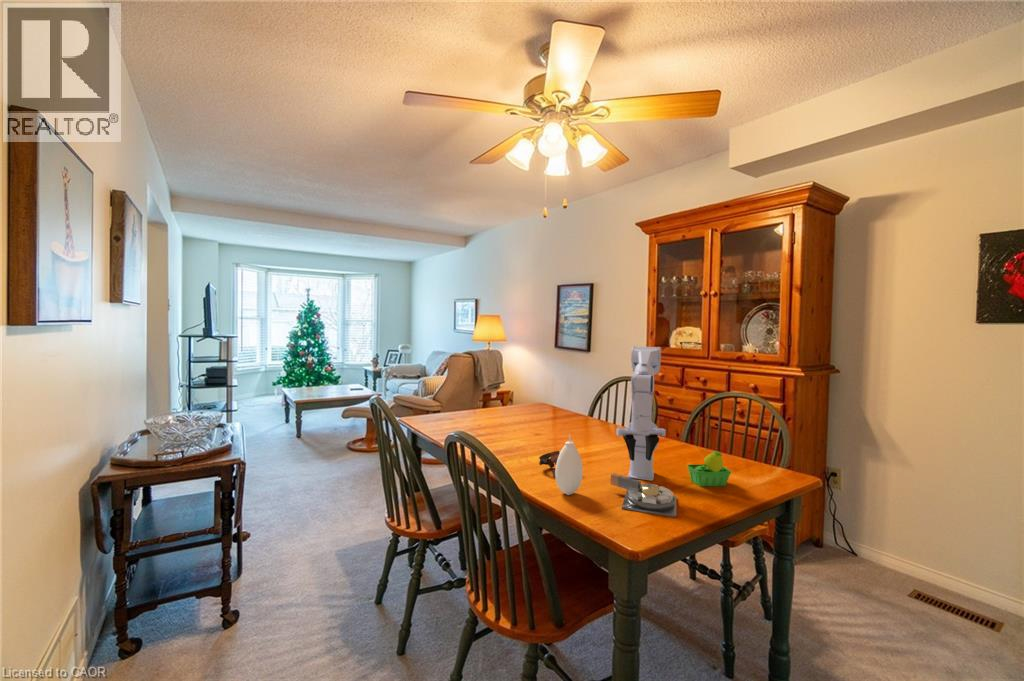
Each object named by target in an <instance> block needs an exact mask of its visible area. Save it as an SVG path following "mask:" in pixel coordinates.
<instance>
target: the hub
mask: <svg viewBox="0 0 1024 681" xmlns="http://www.w3.org/2000/svg"><path fill="white" fill-rule="evenodd" d="M650 484H651V483H646V484H645V483H644V484H643V485H642V491H641V493H643V494H645V495H651V496H657V495H660V494H659V487H660V486H659V485H658V486H655V485H656V484H654V485H650ZM621 509H622V510H627V511H632V512H639V513H644V514H652V515H658V516H665V517H670V518H677V495H673V501H671V502H670V503H665V504H659V503H657V502H656V504H650V503H644V502H642V500H640V501H637V500H635V499H633V498H632V497H630V496H629V495H628V489H626V492H625V495H624V498H623V501H622V505H621Z"/></svg>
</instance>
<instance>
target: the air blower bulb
mask: <svg viewBox="0 0 1024 681" xmlns="http://www.w3.org/2000/svg"><path fill="white" fill-rule="evenodd" d="M571 439H572V438H571V434H569V435H568V441H566V442H565V443H564V446H562V448H561V450H560V451H559V452H560V454H559V456H558V459H557V463H556V464H555V469H554V470H555V477H554V478H555V482H556V485H557V487H558V489H559V490H560V491H561V492H562V493H563V494H565V495H566V496H570V495H573V494H575V492H577V491H578V490H579V489H580V486H581V483H582V479H583V464H582V463H583V462H582V459H581V456H580V453H579V450H578V449H577V447H576V446H575V443H574V441H572V440H571Z"/></svg>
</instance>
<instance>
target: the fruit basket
mask: <svg viewBox="0 0 1024 681" xmlns="http://www.w3.org/2000/svg"><path fill="white" fill-rule="evenodd" d="M722 456H723V455H722V453H721V452H719V451H716V450H715V451H713V452H711V453H709V454H707V455H706V456H705V457H704V459H703V462H704V464H701V463H700V464H698V463H697V464H687V465H686V466H687V469H688V472H689V477H690V480H691V482H692V483H694V484H695V485H698V487H719V486H720V487H723V486H724V487H725V486H726V485H727V483H728V480H729V477H730V475H731V473H732V470H730V469H729V468H727V467H725V466H724V461H723V458H722Z"/></svg>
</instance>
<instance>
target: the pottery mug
mask: <svg viewBox="0 0 1024 681" xmlns="http://www.w3.org/2000/svg"><path fill="white" fill-rule="evenodd" d="M560 452H561V451H559V450H554V451H551V452H547V453H545V454H542V455H540V456H539V457H538V459H539V462H538V464H539V466H541V465H546V466H548V467H549V468H550V469H552V470H551V473H552V476H553V478H556V477H555V469H553V468H555V467H556V463H557V459H558V456H559V454H560Z"/></svg>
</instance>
